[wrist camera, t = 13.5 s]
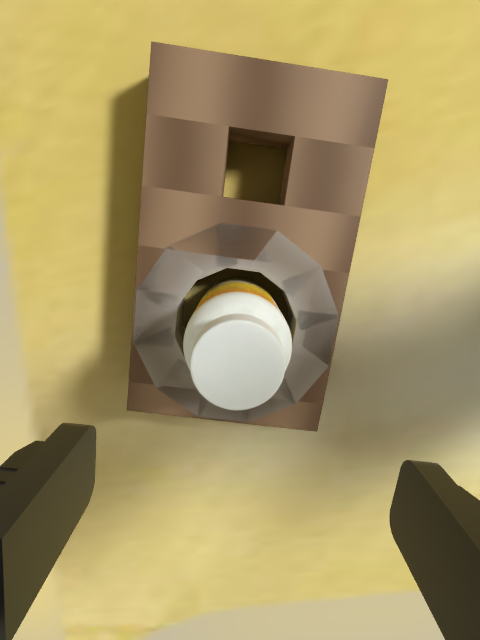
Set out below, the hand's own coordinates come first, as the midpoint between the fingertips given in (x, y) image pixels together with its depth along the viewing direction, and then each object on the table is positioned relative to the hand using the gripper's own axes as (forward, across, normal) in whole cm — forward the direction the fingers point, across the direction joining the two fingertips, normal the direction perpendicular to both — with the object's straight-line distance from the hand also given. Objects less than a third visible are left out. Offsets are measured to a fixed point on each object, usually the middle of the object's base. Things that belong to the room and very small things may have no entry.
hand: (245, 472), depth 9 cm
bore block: (+15, 0, -5) cm, 16 cm away
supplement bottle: (+16, 0, -1) cm, 16 cm away
